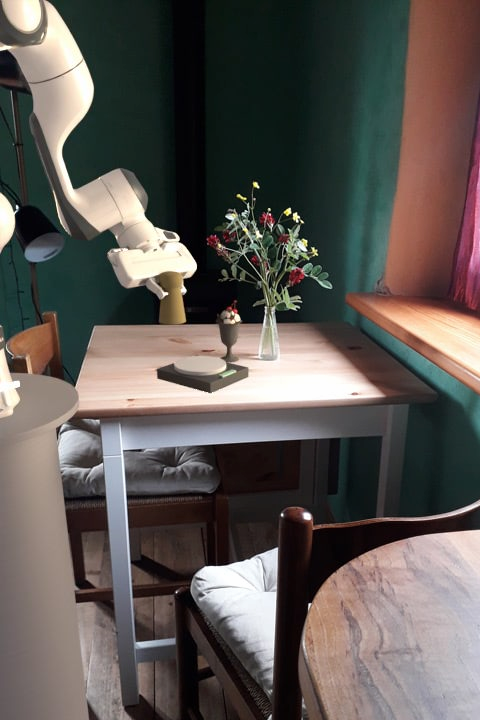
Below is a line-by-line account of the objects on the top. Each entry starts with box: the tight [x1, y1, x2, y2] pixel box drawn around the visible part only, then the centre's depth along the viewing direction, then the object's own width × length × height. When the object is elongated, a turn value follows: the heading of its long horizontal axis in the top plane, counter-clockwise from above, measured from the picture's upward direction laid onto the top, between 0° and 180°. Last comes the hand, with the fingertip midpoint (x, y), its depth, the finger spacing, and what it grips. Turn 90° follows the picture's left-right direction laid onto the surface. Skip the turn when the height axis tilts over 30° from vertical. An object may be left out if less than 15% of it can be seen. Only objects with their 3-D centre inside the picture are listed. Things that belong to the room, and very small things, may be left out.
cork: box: [158, 271, 187, 325], centre depth 136 cm, size 6×6×11 cm
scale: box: [156, 354, 250, 394], centre depth 143 cm, size 14×16×3 cm
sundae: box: [215, 300, 243, 363], centre depth 155 cm, size 7×7×15 cm
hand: (173, 295), depth 135 cm, fingers closed on cork, 4 cm apart
